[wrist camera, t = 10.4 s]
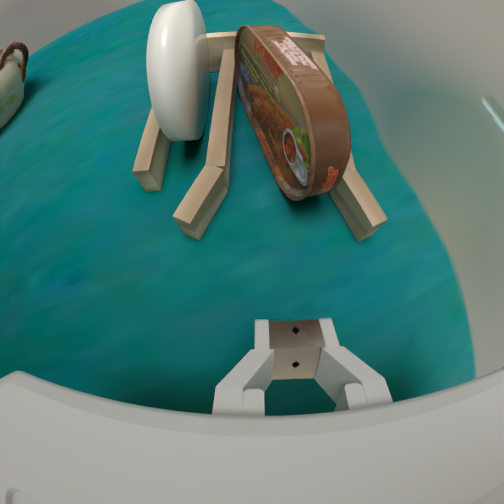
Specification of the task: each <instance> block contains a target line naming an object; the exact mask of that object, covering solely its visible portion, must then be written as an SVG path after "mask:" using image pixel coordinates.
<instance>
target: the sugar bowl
mask: <svg viewBox="0 0 504 504" xmlns="http://www.w3.org/2000/svg"><path fill="white" fill-rule="evenodd" d="M14 49H19V50H21V52H22V54H23V55H22V54H21V53H19V52H18V51H16V50H14ZM27 61H28V49H27V47H26V46H25V45H23V43H18V42H14V43H12V44H11V45H10V46H9V47H8V48H7V49H6V50H0V129H1V128H2V127H3V126H4V125H5V124H6V123H7V122H8V121H9V120H10V118H11V117H12V116H13V115H14V114H15V112H16V111H17V110H18V108H19V106H20V105H21V103H22V101H23V99H24V84H25V77H26V65H27Z"/></svg>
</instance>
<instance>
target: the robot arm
mask: <svg viewBox="0 0 504 504" xmlns="http://www.w3.org/2000/svg"><path fill="white" fill-rule="evenodd" d="M306 378H314V379H315V380H316V382H317V383H318V384H319V385H320V386H321V387H322V388H323V390H324V391H325V392H326V393H327V394H328V395H329V396H330V398H331V399H332V400H333V401H334V402H335V403H336V404H337V405H336V407H335V410H334V412H328V413H317V414H304V415H285V416H265V408H264V392H265V390H266V389H267V387H268V386H269V384H270V383H271V382H272V380H280V379H306ZM0 504H504V367H503V368H501V369H499V370H496V371H494V372H491V373H489V374H486V375H484V376H481V377H479V378H476V379H473V380H471V381H468V382H465V383H462V384H459V385H456V386H453V387H450V388H447V389H443V390H440V391H437V392H433V393H430V394H426V395H422V396H418V397H414V398H410V399H406V400H402V401H397V402H393V401H392V398H391V395H390V392H389V389H388V386H387V384H386V381H385V378H384V377H382V376H381V375H380V374H378V373H377V372H376V371H375V370H373V369H372V368H371V367H369V366H368V365H367V364H366V363H364V362H363V361H362V360H360V359H359V358H358V357H357V356H355V355H354V354H353V353H351V352H350V351H349V350H348V349H346V348H345V347H344V346H341V347H340V345H339V342H338V338H337V335H336V332H335V329H334V325H333V322H332V319H331V318H319V319H298V320H276V319H269V320H262V319H255V349H251V350H250V351H249V352H248V353H247V354H246V355H245V356H244V357H243V358H242V359H241V361H240V362H239V363H238V364H237V365H236V366H235V367H234V368H233V369H232V370H231V371H230V372H229V373H228V374H227V375H226V376H225V377H224V379H223V380H222V381H221V382H220V383H219V384H218V385H217V386H216V388H215V396H214V403H213V411H212V414H202V413H191V412H182V411H174V410H166V409H159V408H153V407H147V406H141V405H136V404H131V403H126V402H121V401H116V400H112V399H108V398H103V397H99V396H95V395H92V394H88V393H84V392H81V391H77V390H74V389H71V388H67V387H64V386H61V385H58V384H55V383H52V382H49V381H46V380H44V379H41V378H38V377H36V376H33V375H31V374H28V373H26V372H23V371H15V372H12V373H10V374H8V375H6V376H4V377H3V378H1V379H0Z"/></svg>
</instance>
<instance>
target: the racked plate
mask: <svg viewBox="0 0 504 504" xmlns="http://www.w3.org/2000/svg"><path fill="white" fill-rule="evenodd" d="M147 79H148V87H149V93H150V98H151V103H152V106H153V110H154V113H155V116H156V119H157V122H158V124H159V126H160V128H161V130H162V131H163V133H164V134H165V136H166V137H167V138H168V139H169V140H171V141H186V140H198V139H199V138H200V137H201V136H202V134H203V131H204V128H205V125H206V120H207V113H208V104H209V80H210V77H209V53H208V43H207V35H206V30H205V25H204V21H203V17H202V14H201V11H200V9H199V7H198V5H197V4H196V2H194V1H193V0H187V1H180V2H175V3H169V4H165V5H163V6H161V7H160V8H159V10H158V11H157V13H156V14H155V16H154V18H153V21H152V24H151V27H150V32H149V36H148V44H147Z"/></svg>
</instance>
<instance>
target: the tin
mask: <svg viewBox="0 0 504 504" xmlns="http://www.w3.org/2000/svg"><path fill="white" fill-rule="evenodd" d="M234 59H235V70H236V78H237V84H238V89H239V94H240V97H241V101H242V104H243V106H244V109H245V111H246V114H247V116H248V118H249V120H250V123H251V125H252V127H253V129H254V131H255V133H256V136H257V138H258V140H259V143H260V145H261V147H262V150H263V152H264V154H265V157H266V159H267V161H268V164H269V166H270V168H271V171H272V173H273V175H274V178H275V180H276V182H277V184H278V185H279V187H280V188H281V190H282V191H283V192H284V194H285V195H286V196H287V197H288V198H290V199H292V200H294V201H300V200H302V199H304V198H306V197H310V196H315V195H319V194H323V193H327V192H330V191H332V190H333V189H334V188H335V187H336V186H337V185H338V184H339V183H340V181H341V179H342V177H343V175H344V172H345V170H346V167H347V164H348V162H349V158H350V153H351V134H350V125H349V120H348V116H347V112H346V109H345V106H344V104H343V101H342V99H341V97H340V94H339V92H338V91H337V89H336V87H335V86H334V85H333V83H332V82H331V81H330V79H329V78H328V77H327V76H326V75H325V73H324V72H323V71H322V70H321V69H320V67H319V66H318V65H317V64H316V63H315V62H314V61H313V60H312V58H311V57H310V56H309V55H308V54H307V53H306V52H305V51H304V50H303V49H302V48H301V47H300V46H299V45H298V44H297V43H296V42H295V41H294V39H293V38H292V37H290V36H289V35H288V33H286V32H285V31H284V30H283V29H282V28H280V27H278V26H274V25H258V26H248V25H243V26H241V27H240V28H239V29H238V31H237V34H236V38H235V45H234Z"/></svg>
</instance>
